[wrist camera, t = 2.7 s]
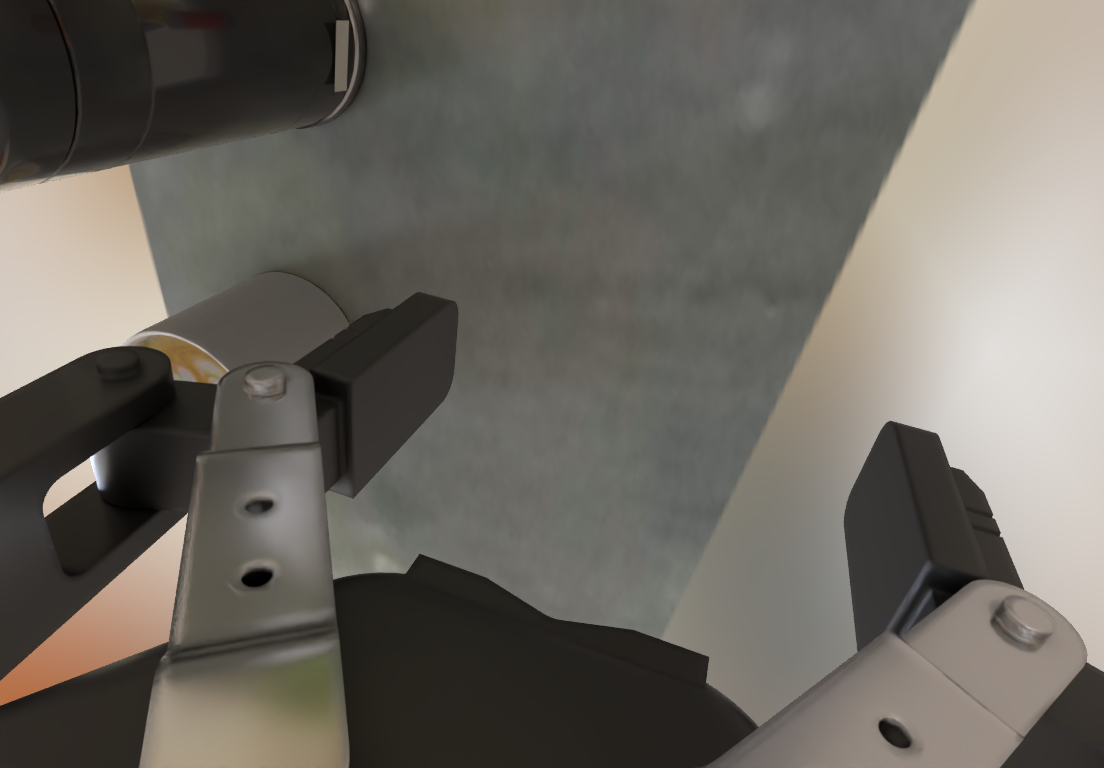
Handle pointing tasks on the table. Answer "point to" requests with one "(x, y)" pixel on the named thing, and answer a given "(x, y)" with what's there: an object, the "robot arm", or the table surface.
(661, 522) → the table surface
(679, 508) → the table surface
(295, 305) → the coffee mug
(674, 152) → the table surface
